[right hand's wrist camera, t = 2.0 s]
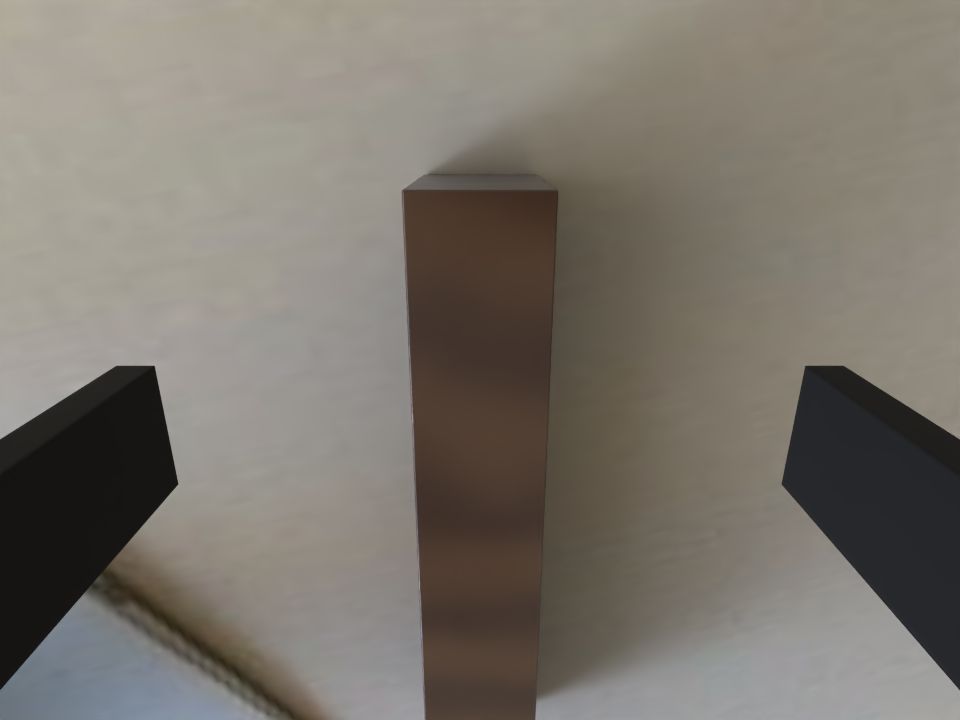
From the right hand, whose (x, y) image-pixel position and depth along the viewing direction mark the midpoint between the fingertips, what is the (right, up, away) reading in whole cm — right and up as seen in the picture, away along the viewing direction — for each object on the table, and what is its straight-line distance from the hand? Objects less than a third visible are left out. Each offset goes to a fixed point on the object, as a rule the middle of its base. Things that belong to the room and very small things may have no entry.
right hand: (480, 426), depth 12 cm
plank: (0, -5, +20) cm, 21 cm away
